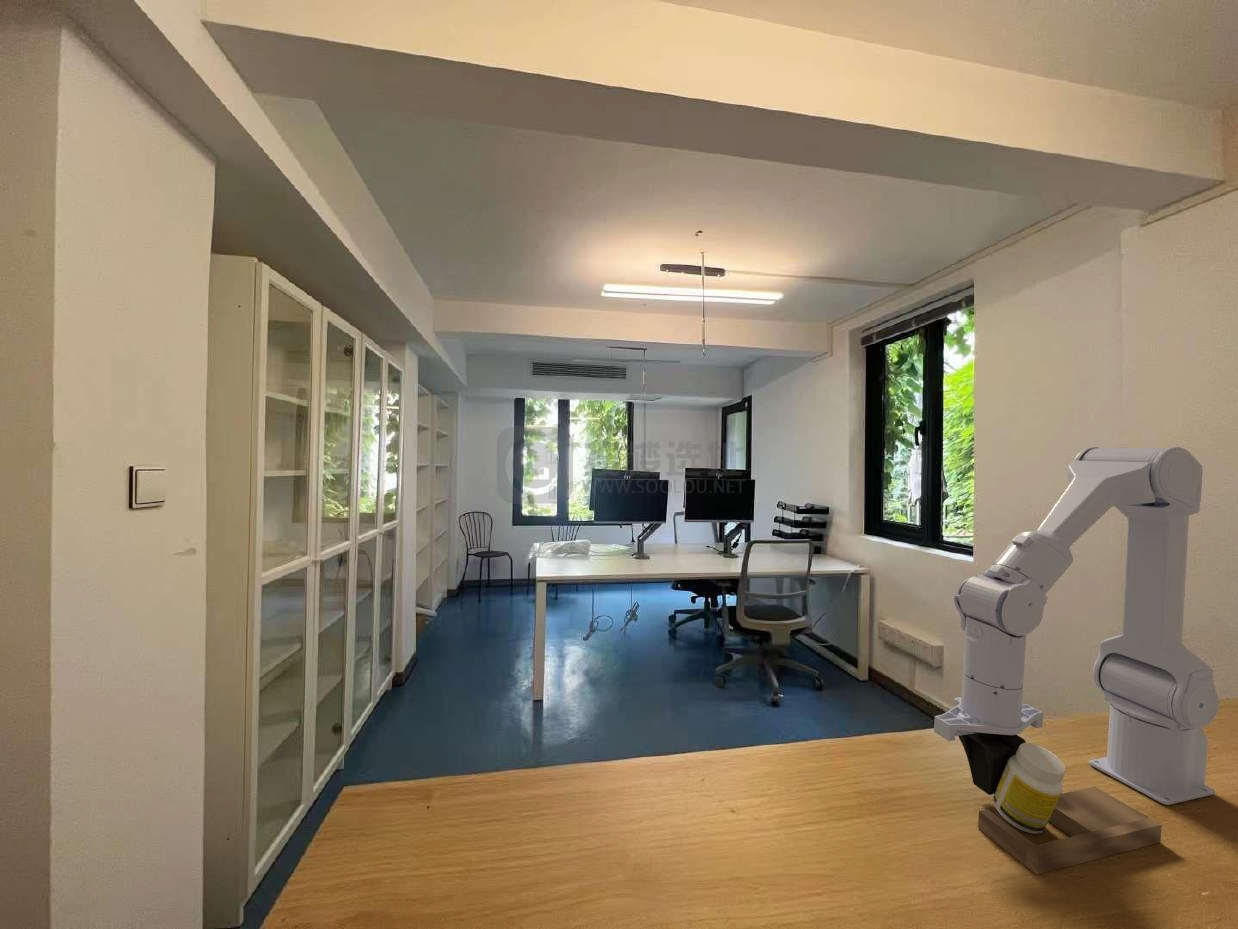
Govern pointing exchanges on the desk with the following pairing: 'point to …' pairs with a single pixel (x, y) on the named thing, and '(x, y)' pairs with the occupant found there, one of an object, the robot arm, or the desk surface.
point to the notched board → (1077, 831)
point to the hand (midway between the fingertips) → (985, 788)
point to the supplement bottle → (1030, 788)
